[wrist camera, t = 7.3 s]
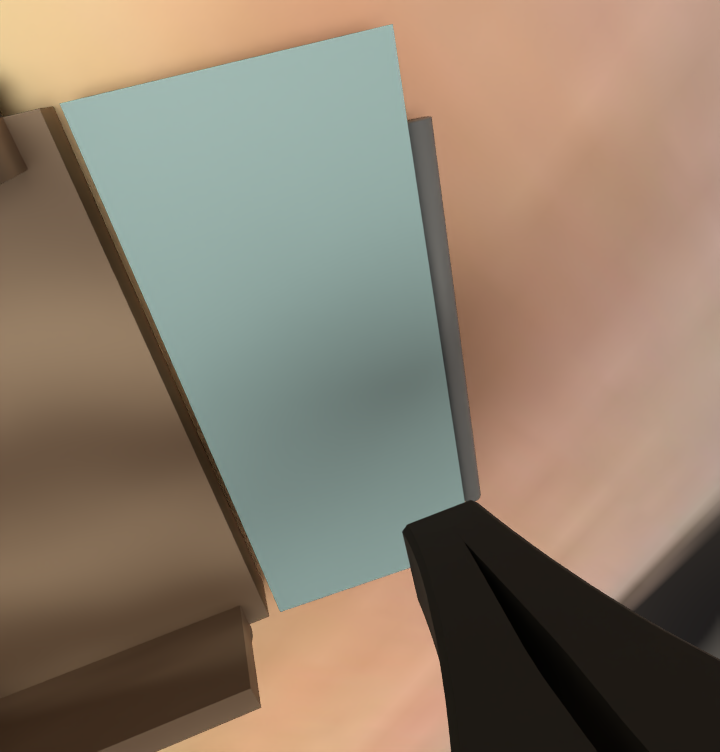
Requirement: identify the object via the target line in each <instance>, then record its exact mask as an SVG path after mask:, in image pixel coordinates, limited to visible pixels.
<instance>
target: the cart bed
mask: <svg viewBox="0 0 720 752" xmlns="http://www.w3.org/2000/svg"><path fill="white" fill-rule="evenodd" d="M268 616H269V613H268V608H267V602H266V597H265V591H264V586H263V582H262V580H261V577H260V575H259V573H258V571H257V568H256V566H255V564H254V562H253V559H252V557H251V555H250V552H249V550H248V548H247V546H246V543H245V541H244V539H243V537H242V534H241V532H240V530H239V527H238V525H237V523H236V521H235V518H234V516H233V514H232V512H231V509H230V507H229V505H228V503H227V500H226V498H225V496H224V493H223V491H222V489H221V487H220V484H219V482H218V480H217V478H216V475H215V473H214V471H213V468H212V466H211V464H210V462H209V459H208V457H207V455H206V453H205V450H204V448H203V446H202V444H201V441H200V439H199V437H198V434H197V432H196V430H195V428H194V425H193V423H192V421H191V419H190V416H189V414H188V412H187V409H186V407H185V405H184V403H183V400H182V398H181V396H180V394H179V391H178V389H177V387H176V384H175V382H174V380H173V378H172V375H171V373H170V371H169V369H168V366H167V364H166V362H165V360H164V357H163V355H162V353H161V350H160V348H159V346H158V344H157V341H156V339H155V337H154V335H153V332H152V330H151V328H150V325H149V323H148V321H147V319H146V316H145V314H144V312H143V310H142V307H141V305H140V303H139V301H138V298H137V296H136V294H135V291H134V289H133V287H132V285H131V282H130V280H129V278H128V276H127V273H126V271H125V269H124V266H123V264H122V262H121V260H120V257H119V255H118V253H117V251H116V248H115V246H114V244H113V241H112V239H111V237H110V235H109V232H108V230H107V228H106V226H105V223H104V221H103V219H102V217H101V214H100V212H99V210H98V207H97V205H96V203H95V201H94V198H93V196H92V194H91V192H90V189H89V187H88V185H87V182H86V180H85V178H84V176H83V173H82V171H81V169H80V167H79V164H78V162H77V160H76V157H75V155H74V153H73V151H72V148H71V146H70V144H69V142H68V139H67V137H66V135H65V133H64V130H63V128H62V126H61V123H60V121H59V119H58V117H57V114H56V112H55V110H54V108H53V107H47V108H40V109H35V110H31V111H27V112H23V113H18V114H14V115H10V116H6V117H3V116H2V114H1V112H0V752H157V751H159V750H161V749H164V748H166V747H168V746H171V745H173V744H176V743H178V742H180V741H183V740H185V739H187V738H190V737H192V736H195V735H197V734H199V733H202V732H204V731H206V730H209V729H211V728H214V727H216V726H218V725H221V724H223V723H225V722H228V721H230V720H233V719H235V718H237V717H240V716H242V715H245V714H247V713H249V712H252V711H254V710H256V709H259V708H261V704H260V697H259V690H258V683H257V676H256V669H255V662H254V655H253V648H252V637H253V635H252V629H251V626H250V624H251V623H253V622H256V621H258V620H261V619H263V618H266V617H268Z"/></svg>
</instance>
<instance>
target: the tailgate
mask: <svg viewBox="0 0 720 752" xmlns="http://www.w3.org/2000/svg"><path fill="white" fill-rule="evenodd" d="M60 106H61V108H62V110H63V112H64V115H65V117H66V119H67V122H68V124H69V126H70V129H71V131H72V133H73V136H74V138H75V140H76V142H77V145H78V147H79V149H80V152H81V154H82V156H83V159H84V161H85V163H86V165H87V168H88V170H89V172H90V175H91V177H92V179H93V182H94V184H95V186H96V189H97V191H98V193H99V195H100V198H101V200H102V202H103V205H104V207H105V209H106V212H107V214H108V216H109V218H110V221H111V223H112V225H113V228H114V230H115V232H116V235H117V237H118V239H119V242H120V244H121V246H122V248H123V251H124V253H125V255H126V258H127V260H128V262H129V265H130V267H131V269H132V271H133V274H134V276H135V278H136V281H137V283H138V285H139V288H140V290H141V292H142V294H143V297H144V299H145V301H146V304H147V306H148V308H149V311H150V313H151V315H152V318H153V320H154V322H155V324H156V327H157V329H158V331H159V334H160V336H161V338H162V341H163V343H164V345H165V347H166V350H167V352H168V354H169V357H170V359H171V361H172V364H173V366H174V368H175V371H176V373H177V375H178V377H179V380H180V382H181V384H182V387H183V389H184V391H185V394H186V396H187V398H188V400H189V403H190V405H191V407H192V410H193V412H194V414H195V417H196V419H197V421H198V424H199V426H200V428H201V430H202V433H203V435H204V437H205V440H206V442H207V444H208V447H209V449H210V451H211V453H212V456H213V458H214V460H215V463H216V465H217V467H218V470H219V472H220V474H221V476H222V479H223V481H224V483H225V486H226V488H227V490H228V493H229V495H230V497H231V500H232V502H233V504H234V506H235V509H236V511H237V513H238V516H239V518H240V520H241V523H242V525H243V527H244V529H245V532H246V534H247V536H248V539H249V541H250V543H251V546H252V548H253V550H254V553H255V555H256V557H257V559H258V562H259V564H260V566H261V569H262V571H263V573H264V576H265V578H266V580H267V582H268V585H269V587H270V589H271V592H272V594H273V596H274V599H275V601H276V603H277V606H278V608H279V610H280V612H282V611H285V610H288V609H290V608H293V607H296V606H299V605H302V604H305V603H308V602H311V601H314V600H317V599H320V598H323V597H326V596H329V595H331V594H334V593H337V592H340V591H343V590H346V589H349V588H352V587H355V586H358V585H361V584H364V583H367V582H370V581H372V580H375V579H378V578H381V577H384V576H387V575H390V574H393V573H396V572H399V571H402V570H405V569H408V568H410V563H409V559H408V555H407V551H406V546H405V542H404V538H403V533H402V531H403V530H404V528H405V527H406V525H407V524H410V523H412V522H415V521H417V520H420V519H423V518H425V517H428V516H430V515H433V514H435V513H438V512H441V511H443V510H446V509H448V508H451V507H454V506H456V505H459V504H461V503H464V502H465V501H466V502H467V501H469V500H473V501H476V500H478V499H479V498H480V496H481V494H480V486H479V478H478V471H477V463H476V455H475V448H474V440H473V432H472V425H471V417H470V409H469V401H468V394H467V386H466V378H465V371H464V363H463V355H462V348H461V340H460V332H459V325H458V317H457V309H456V302H455V294H454V286H453V279H452V271H451V263H450V256H449V248H448V240H447V233H446V225H445V217H444V209H443V202H442V194H441V186H440V179H439V171H438V163H437V156H436V148H435V140H434V133H433V125H432V117H421V118H416V119H411V120H408V121H407V116H406V110H405V103H404V97H403V90H402V83H401V77H400V70H399V63H398V57H397V50H396V44H395V37H394V30H393V24H391V25H387V26H383V27H378V28H374V29H370V30H366V31H362V32H357V33H353V34H349V35H345V36H341V37H337V38H332V39H328V40H324V41H320V42H316V43H311V44H307V45H303V46H299V47H295V48H291V49H286V50H282V51H278V52H274V53H270V54H265V55H261V56H257V57H253V58H249V59H244V60H240V61H236V62H232V63H228V64H224V65H219V66H215V67H211V68H207V69H203V70H198V71H194V72H190V73H186V74H182V75H178V76H173V77H169V78H165V79H161V80H157V81H152V82H148V83H144V84H140V85H136V86H132V87H127V88H123V89H119V90H115V91H111V92H106V93H102V94H98V95H94V96H90V97H86V98H81V99H77V100H73V101H69V102H65V103H60Z"/></svg>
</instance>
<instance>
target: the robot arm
mask: <svg viewBox="0 0 720 752" xmlns="http://www.w3.org/2000/svg"><path fill="white" fill-rule="evenodd" d="M402 533H403V538H404V542H405V546H406V551H407V555H408V559H409V563H410V568H411V572H412V576H413V580H414V585H415V589H416V593H417V598H418V601H419V603H420V606H421V608H422V611H423V613H424V616H425V618H426V621H427V624H428V627H429V630H430V632H431V635H432V638H433V641H434V644H435V647H436V651H437V654H438V657H439V661H440V666H441V673H442V679H443V686H444V693H445V700H446V708H447V717H448V725H449V735H450V744H451V752H720V659H718V658H716V657H714V656H712V655H711V654H709V653H707V652H705V651H703V650H701V649H699V648H697V647H696V646H693V645H692V644H690V643H688V642H686V641H684V640H682V639H680V638H679V637H677V636H675V635H673V634H672V633H670V632H668V631H666V630H664V629H662V628H661V627H659V626H657V625H656V624H654V623H652V622H651V621H649V620H647V619H645V618H644V617H642V616H640V615H638V614H637V613H635V612H634V611H632V610H630V609H629V608H627V607H625V606H624V605H622V604H620V603H619V602H617V601H616V600H614V599H612V598H611V597H609V596H607V595H606V594H604V593H603V592H601V591H600V590H598V589H596V588H595V587H593V586H592V585H590V584H589V583H587V582H586V581H584V580H583V579H581V578H580V577H578V576H577V575H575V574H574V573H572V572H571V571H569V570H568V569H566V568H565V567H563V566H562V565H560V564H559V563H557V562H556V561H554V560H553V559H552V558H550V557H549V556H547V555H546V554H544V553H543V552H542V551H540V550H539V549H537V548H536V547H535V546H533V545H532V544H531V543H529V542H528V541H526V540H525V539H524V538H522V537H521V536H520V535H518V534H517V533H516V532H514V531H513V530H512V529H510V528H509V527H508V526H506V525H505V524H504V523H502V522H501V521H500V520H499V519H497V518H496V517H495V516H493V515H492V514H491V513H490V512H488V511H487V510H486V509H485V508H483V507H482V506H481V505H480V504H478V503H477V502H475V501H473V500H469V501H467V502H464V503H461V504H459V505H456V506H454V507H451V508H448V509H446V510H443V511H441V512H438V513H435V514H433V515H430V516H428V517H425V518H423V519H420V520H417V521H415V522H412V523H410V524H407V525H406V527H405V528H404V530H403V531H402Z"/></svg>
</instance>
